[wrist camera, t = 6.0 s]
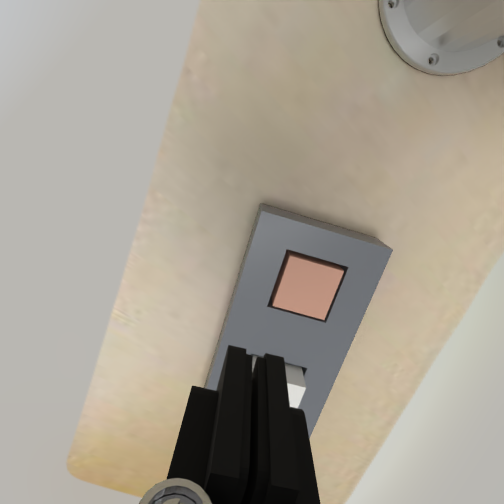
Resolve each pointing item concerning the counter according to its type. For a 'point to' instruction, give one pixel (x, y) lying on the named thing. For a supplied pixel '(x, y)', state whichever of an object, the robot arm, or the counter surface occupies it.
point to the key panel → (292, 323)
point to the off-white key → (292, 382)
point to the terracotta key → (306, 284)
